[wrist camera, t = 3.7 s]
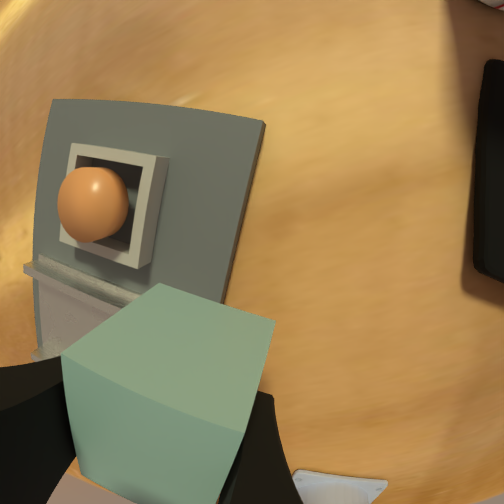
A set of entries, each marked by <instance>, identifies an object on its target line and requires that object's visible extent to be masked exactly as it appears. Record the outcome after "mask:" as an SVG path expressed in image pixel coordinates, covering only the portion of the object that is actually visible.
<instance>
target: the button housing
mask: <svg viewBox="0 0 504 504" xmlns="http://www.w3.org/2000/svg"><path fill="white" fill-rule="evenodd" d="M93 158H99V159H105V160H110V161H116V162H121V163H127V164H132V165H137V166H142V167H143V170H142V175H141V180H140V186H139V191H138V197H137V203H136V209H135V215H134V222H133V229H132V236H131V243H130V244H127V243H124V242H121V241H118V240H115V239H112V238H109V237H105V238H102V239H99V240H96V241H93V242H89V243H83V242H79V241H77V240H75V239H73V238H72V237H71V236H69V234H68V233H67V232H66V231H65V229H64V228H63V226H62V224H61V225H60V239H59V241H61V242H64V243H66V244H69V245H72V246H74V247H77V248H80V249H82V250H85V251H88V252H90V253H93V254H96V255H99V256H101V257H104V258H107V259H110V260H113V261H115V262H118V263H121V264H124V265H127V266H130V267H133V268H135V269H139V268H141V267H143V266H144V265H146V264H148V263H150V262H151V259H152V252H153V246H154V239H155V233H156V227H157V221H158V215H159V210H160V204H161V199H162V194H163V189H164V184H165V179H166V174H167V169H168V164H169V160H170V158H167V157H162V156H156V155H151V154H145V153H140V152H134V151H128V150H122V149H115V148H109V147H102V146H95V145H88V144H78V143H72V144H71V149H70V154H69V160H68V166H67V173H66V176H67V175H68V174H69V173H70V172H72V171H73V170H75V169H77V168H81V167H91V166H92V160H93Z"/></svg>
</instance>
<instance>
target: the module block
mask: <svg viewBox="0 0 504 504" xmlns="http://www.w3.org/2000/svg"><path fill="white" fill-rule="evenodd" d="M275 323H276V321H275V320H271V319H268V318H265V317H262V316H258V315H255V314H252V313H249V312H245V311H242V310H239V309H236V308H233V307H230V306H227V305H223V304H220V303H217V302H214V301H211V300H208V299H205V298H202V297H199V296H196V295H193V294H190V293H187V292H185V291H182V290H179V289H176V288H173V287H170V286H167V285H164V284H162V283H158V284H157V285H155V286H154V287H152V288H151V289H149V290H148V291H147V292H145V293H144V294H142V295H141V296H139V297H138V298H137V299H135V300H134V301H132V302H131V303H129V304H128V305H127V306H125V307H124V308H122V309H121V310H120V311H118V312H117V313H115V314H114V315H113V316H111V317H110V318H108V319H107V320H106V321H104V322H103V323H101V324H100V325H99V326H97V327H96V328H94V329H93V330H92V331H90V332H89V333H87V334H86V335H85V336H83V337H82V338H81V339H79V340H78V341H76V342H75V343H74V344H72V345H71V346H70V347H68V348H67V349H66V350H64V351H63V352H61V363H62V372H63V381H64V389H65V397H66V403H67V410H68V416H69V421H70V427H71V432H72V437H73V442H74V446H75V451H76V455H77V459H78V463H79V467H80V471H81V475H83V476H85V477H86V478H88V479H90V480H92V481H93V482H95V483H97V484H99V485H101V486H102V487H104V488H106V489H108V490H110V491H112V492H114V493H116V494H118V495H120V496H122V497H124V498H126V499H128V500H130V501H132V502H134V503H137V504H216V501H217V499H218V497H219V494H220V492H221V490H222V487H223V485H224V483H225V480H226V478H227V476H228V473H229V471H230V468H231V466H232V464H233V461H234V459H235V456H236V454H237V451H238V449H239V446H240V444H241V441H242V439H243V436H244V434H245V431H246V427H247V424H248V421H249V417H250V414H251V410H252V407H253V403H254V400H255V396H256V393H257V389H258V386H259V382H260V379H261V375H262V371H263V368H264V364H265V360H266V357H267V353H268V349H269V346H270V342H271V338H272V334H273V330H274V327H275Z"/></svg>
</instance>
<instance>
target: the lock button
mask: <svg viewBox="0 0 504 504" xmlns="http://www.w3.org/2000/svg"><path fill="white" fill-rule="evenodd" d="M57 206H58V214H59V218H60V221H61V224H62V226H63V228H64V229H65V231H66V232H67V233H68V234H69V236H71V237H72V238H73V239H75V240H77V241H79V242H83V243H89V242H93V241H96V240H99V239H102V238H105V237H108V236H111V235H113V234H115V233H116V232H117V231H118V230H119V229H120V228H121V227H122V225H123V224H124V222H125V220H126V217H127V214H128V208H129V197H128V192H127V188H126V186H125V184H124V182H123V180H122V178H121V177H120V176H119V175H118V174H117V173H116V172H114V171H113V170H111V169H109V168H103V167H81V168H77V169H75V170H73V171H72V172H70V173H69V174H68V175H67V176H66V178H65V179H64V181H63V182H62V184H61V187H60V190H59V194H58V202H57Z"/></svg>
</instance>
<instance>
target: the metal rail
mask: <svg viewBox="0 0 504 504" xmlns="http://www.w3.org/2000/svg"><path fill="white" fill-rule="evenodd" d="M23 267H24V273H25V274H27V275H29V276H31V277H33V278H35V279H37V280H39V305H40V320H41V332H42V341H43V345H42V346H40V347H39V348H37V349H36V350H34V351H33V352H31V358H32V360H34V361H35V362H38V361H42V360H46V359H50V358H54V357H57V356H61V352H63V351H64V350H66V349H67V348H68V347H70V346H71V345H72V344H74V343H75V342H76V341H78V340H79V339H81V338H82V337H83V336H85V335H86V334H87V333H89V332H90V331H92V330H93V329H94V328H96V327H97V326H99V325H100V324H101V323H103V322H104V321H106V320H107V319H108V318H110V317H111V316H113V315H114V314H115V313H117V312H118V311H120V310H121V309H122V308H124V307H125V306H127V305H128V304H129V303H131V302H132V301H134V300H135V299H137V298H138V297H139V296H141V295H142V293H140V292H137V291H134V290H132V289H129V288H126V287H124V286H121V285H118V284H116V283H113V282H110V281H108V280H105V279H103V278H100V277H98V276H95V275H93V274H90V273H88V272H85V271H83V270H80V269H78V268H75V267H73V266H71V265H68V264H66V263H64V262H61V261H59V260H56V259H54V258H52V257H50V256H47V255H45V254H43V253H40V254H39V258H38V259H36V260H34V261H31V262H28V263H25V264H23Z"/></svg>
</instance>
